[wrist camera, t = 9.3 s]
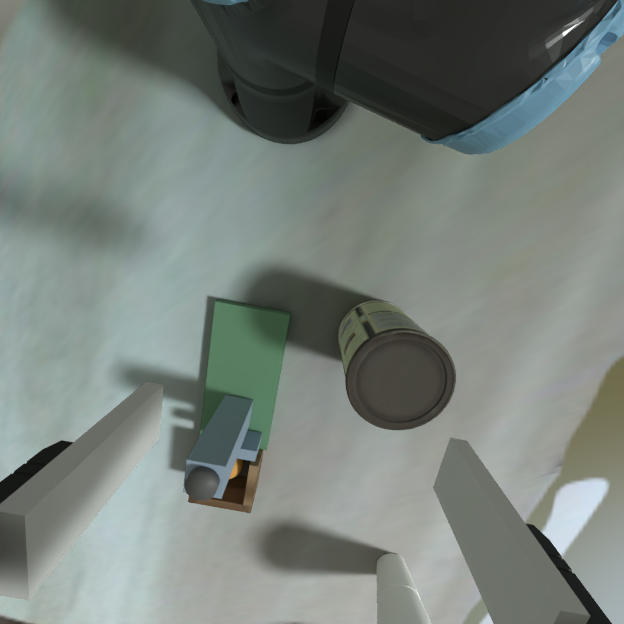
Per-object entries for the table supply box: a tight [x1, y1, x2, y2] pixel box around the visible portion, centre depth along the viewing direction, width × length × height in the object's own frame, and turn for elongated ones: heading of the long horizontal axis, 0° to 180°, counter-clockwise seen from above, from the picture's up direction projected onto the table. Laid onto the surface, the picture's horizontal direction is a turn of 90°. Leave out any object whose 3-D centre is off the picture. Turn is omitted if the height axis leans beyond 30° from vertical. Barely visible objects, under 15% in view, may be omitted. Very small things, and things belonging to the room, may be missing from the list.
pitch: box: [200, 299, 291, 450], centre depth 44 cm, size 21×10×2 cm, turn 169°
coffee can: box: [338, 300, 456, 430], centre depth 36 cm, size 10×10×14 cm
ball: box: [229, 459, 243, 479], centre depth 46 cm, size 4×4×4 cm
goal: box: [188, 449, 263, 513], centre depth 46 cm, size 8×9×5 cm
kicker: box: [183, 395, 262, 501], centre depth 38 cm, size 7×8×14 cm
